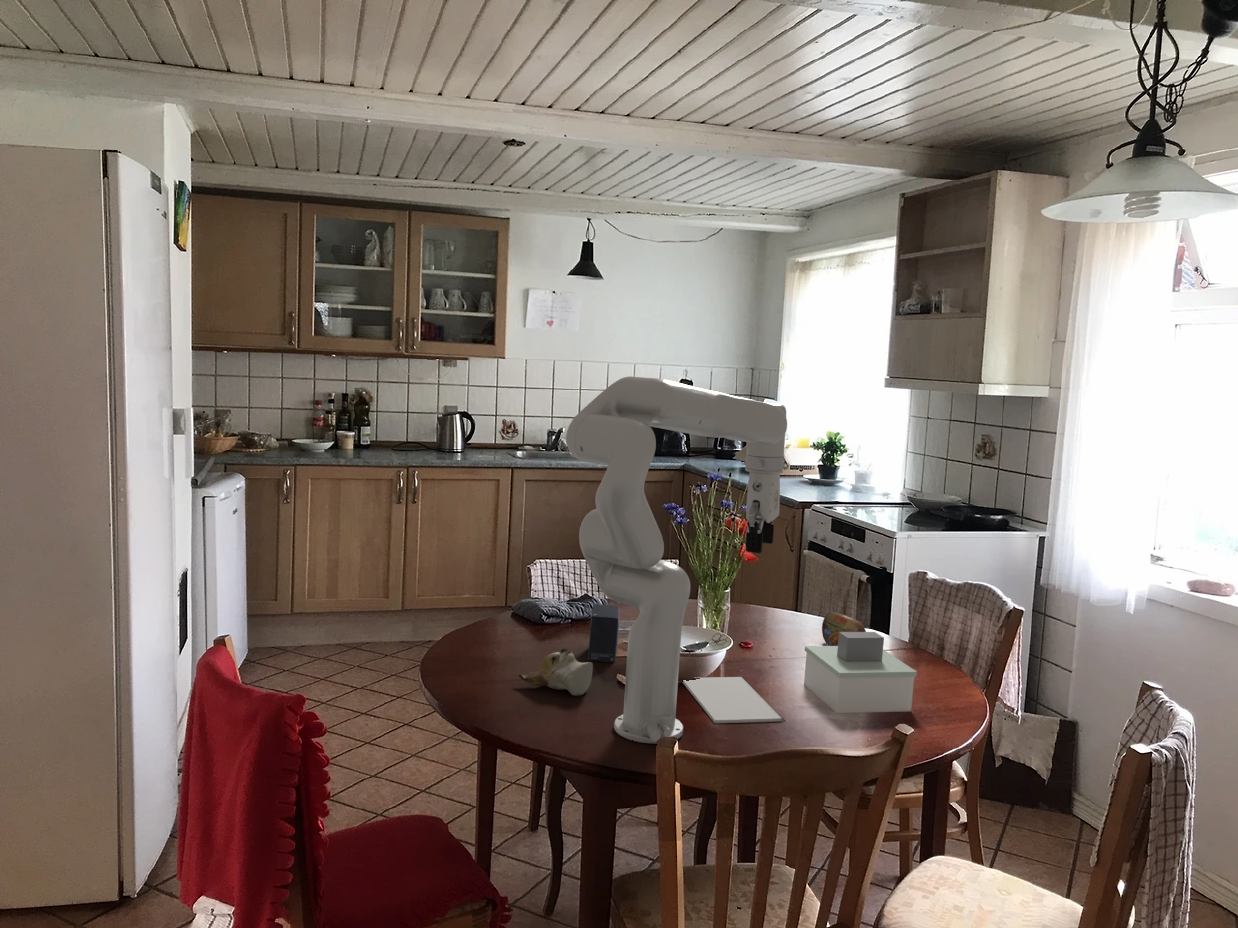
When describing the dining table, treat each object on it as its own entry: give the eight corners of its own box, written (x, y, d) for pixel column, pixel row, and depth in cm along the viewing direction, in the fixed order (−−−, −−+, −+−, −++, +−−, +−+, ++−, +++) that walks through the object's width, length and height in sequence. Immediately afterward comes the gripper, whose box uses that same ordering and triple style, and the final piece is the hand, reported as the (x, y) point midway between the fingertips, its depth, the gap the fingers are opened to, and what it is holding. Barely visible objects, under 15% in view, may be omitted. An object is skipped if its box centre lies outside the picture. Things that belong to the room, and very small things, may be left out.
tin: (819, 641, 233) (822, 608, 232) (830, 640, 235) (833, 607, 234) (855, 660, 220) (859, 625, 219) (866, 659, 221) (870, 624, 220)
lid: (915, 682, 185) (919, 647, 184) (838, 684, 182) (841, 648, 181) (876, 655, 201) (879, 623, 200) (804, 656, 198) (807, 623, 197)
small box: (616, 663, 207) (619, 617, 206) (587, 661, 207) (589, 615, 206) (617, 648, 217) (620, 604, 216) (589, 647, 217) (592, 603, 216)
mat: (827, 720, 181) (828, 717, 181) (714, 723, 176) (714, 720, 176) (782, 679, 203) (782, 676, 203) (681, 680, 198) (681, 678, 198)
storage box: (910, 714, 186) (914, 676, 185) (836, 716, 183) (839, 677, 182) (872, 686, 202) (875, 650, 201) (803, 687, 198) (806, 651, 197)
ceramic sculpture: (575, 660, 180) (516, 648, 188) (575, 704, 181) (515, 690, 189) (607, 649, 189) (548, 637, 197) (606, 691, 189) (548, 677, 198)
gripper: (773, 471, 178) (767, 558, 181) (791, 461, 194) (786, 541, 197) (734, 467, 181) (730, 553, 183) (756, 457, 197) (751, 537, 199)
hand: (759, 547), depth 190 cm, fingers open, 9 cm apart
